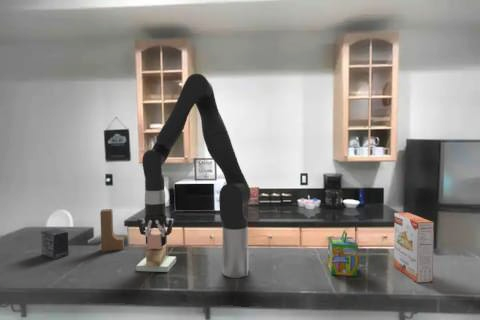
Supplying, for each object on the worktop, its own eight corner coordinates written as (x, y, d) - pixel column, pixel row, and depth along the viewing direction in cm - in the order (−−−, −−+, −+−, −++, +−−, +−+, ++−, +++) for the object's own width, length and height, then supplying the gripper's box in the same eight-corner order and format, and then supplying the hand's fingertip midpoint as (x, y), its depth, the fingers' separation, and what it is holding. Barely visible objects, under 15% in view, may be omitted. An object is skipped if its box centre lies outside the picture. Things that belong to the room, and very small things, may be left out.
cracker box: (392, 266, 114) (393, 212, 113) (408, 266, 114) (409, 211, 113) (415, 283, 100) (417, 221, 99) (433, 283, 100) (435, 221, 99)
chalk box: (327, 265, 116) (327, 227, 115) (351, 266, 114) (352, 228, 114) (331, 275, 107) (331, 234, 106) (358, 277, 105) (358, 235, 105)
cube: (165, 244, 118) (164, 231, 117) (160, 248, 113) (160, 235, 112) (152, 244, 118) (152, 231, 118) (147, 248, 113) (147, 235, 113)
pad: (176, 261, 120) (176, 256, 120) (167, 272, 110) (167, 267, 110) (147, 260, 122) (147, 255, 122) (135, 271, 111) (135, 265, 111)
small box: (70, 255, 128) (69, 231, 128) (53, 260, 123) (52, 235, 122) (57, 250, 134) (56, 227, 134) (41, 255, 129) (40, 231, 128)
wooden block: (124, 246, 139) (123, 208, 138) (123, 249, 134) (122, 210, 133) (103, 248, 136) (101, 209, 135) (101, 251, 132) (100, 211, 131)
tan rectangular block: (166, 256, 120) (165, 244, 120) (159, 265, 111) (159, 252, 111) (153, 256, 120) (153, 244, 120) (146, 265, 111) (146, 252, 111)
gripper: (176, 199, 117) (177, 242, 118) (141, 199, 119) (142, 241, 120) (170, 203, 110) (171, 249, 111) (132, 203, 111) (134, 248, 112)
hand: (156, 245), depth 115 cm, fingers closed on cube, 5 cm apart
